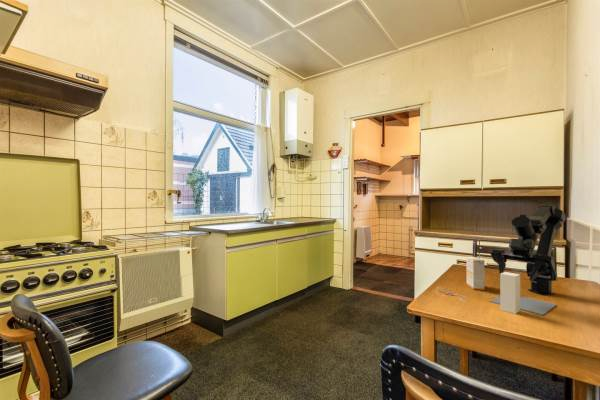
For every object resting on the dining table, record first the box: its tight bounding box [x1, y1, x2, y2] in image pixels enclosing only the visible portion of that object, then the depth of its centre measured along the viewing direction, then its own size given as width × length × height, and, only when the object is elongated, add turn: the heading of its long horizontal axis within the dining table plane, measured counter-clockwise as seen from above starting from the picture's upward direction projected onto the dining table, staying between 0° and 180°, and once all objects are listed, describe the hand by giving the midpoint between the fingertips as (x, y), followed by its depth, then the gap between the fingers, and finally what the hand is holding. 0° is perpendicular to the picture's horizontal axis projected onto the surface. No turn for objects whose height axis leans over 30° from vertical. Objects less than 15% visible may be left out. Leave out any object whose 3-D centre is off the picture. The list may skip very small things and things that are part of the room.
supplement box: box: [465, 256, 485, 291], centre depth 128 cm, size 8×5×13 cm, turn 168°
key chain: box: [437, 290, 467, 303], centre depth 117 cm, size 13×7×1 cm, turn 36°
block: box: [499, 271, 521, 315], centre depth 101 cm, size 4×4×13 cm
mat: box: [489, 295, 557, 316], centre depth 108 cm, size 16×16×1 cm
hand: (514, 277), depth 104 cm, fingers open, 9 cm apart
